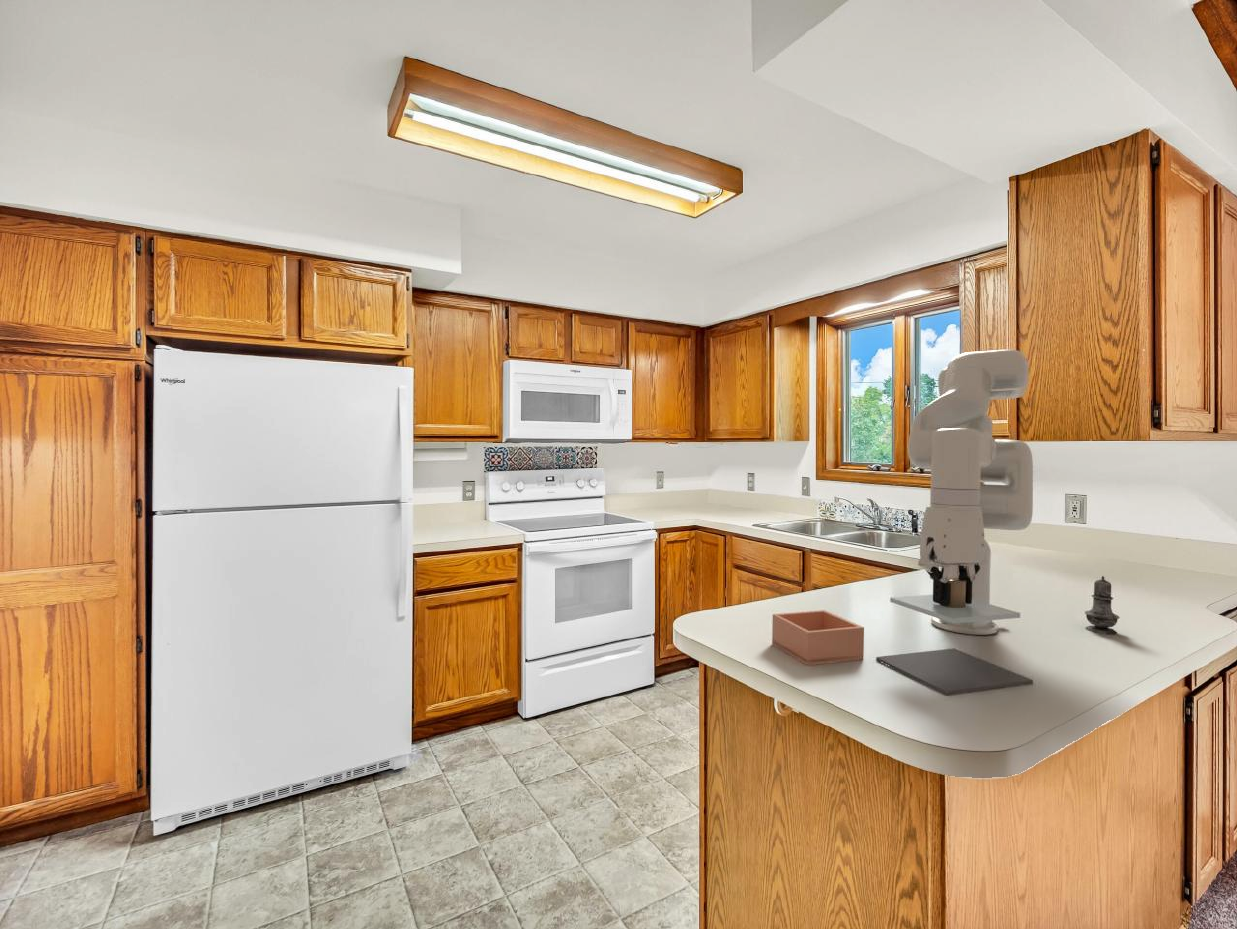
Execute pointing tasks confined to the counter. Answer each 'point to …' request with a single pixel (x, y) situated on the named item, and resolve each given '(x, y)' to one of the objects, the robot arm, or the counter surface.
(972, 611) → the lid
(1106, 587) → the salt shaker
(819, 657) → the open storage tray
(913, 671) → the mat
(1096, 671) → the counter surface
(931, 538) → the robot arm
